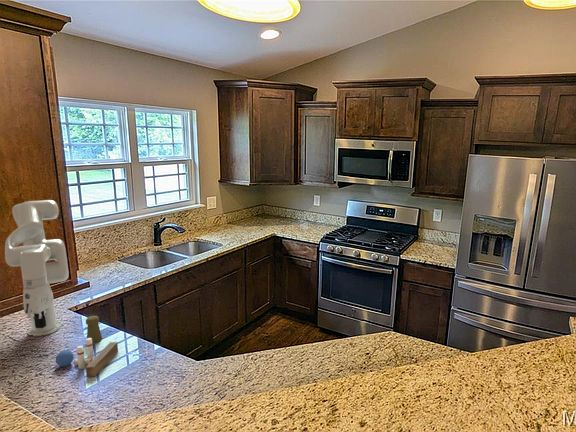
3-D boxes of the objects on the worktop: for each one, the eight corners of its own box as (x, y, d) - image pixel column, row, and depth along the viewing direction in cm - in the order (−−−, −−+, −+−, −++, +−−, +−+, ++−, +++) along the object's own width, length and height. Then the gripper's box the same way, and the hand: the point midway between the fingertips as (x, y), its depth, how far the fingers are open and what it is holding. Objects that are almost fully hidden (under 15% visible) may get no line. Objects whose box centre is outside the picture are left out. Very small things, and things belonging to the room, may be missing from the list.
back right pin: (78, 366, 141) (76, 346, 139) (85, 365, 142) (83, 345, 140) (78, 370, 139) (76, 349, 137) (85, 368, 140) (83, 347, 138)
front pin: (73, 360, 141) (96, 359, 141) (76, 357, 143) (99, 357, 144) (74, 366, 141) (96, 365, 142) (77, 363, 143) (99, 362, 144)
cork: (98, 335, 165) (96, 312, 163) (104, 339, 161) (102, 316, 160) (84, 340, 161) (81, 317, 159) (90, 345, 157) (87, 321, 155)
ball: (78, 356, 142) (74, 365, 144) (71, 344, 144) (67, 353, 146) (61, 362, 137) (57, 372, 139) (54, 350, 139) (50, 360, 141)
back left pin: (87, 358, 147) (85, 338, 145) (93, 356, 148) (91, 337, 146) (87, 361, 145) (85, 341, 143) (94, 359, 146) (92, 339, 144)
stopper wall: (86, 377, 134) (85, 367, 134) (110, 351, 152) (110, 342, 151) (94, 377, 134) (93, 367, 134) (118, 351, 152) (117, 342, 151)
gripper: (31, 288, 131) (37, 336, 134) (57, 275, 145) (62, 318, 148) (10, 288, 131) (16, 336, 134) (39, 275, 145) (44, 318, 148)
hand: (40, 326), depth 141 cm, fingers closed
